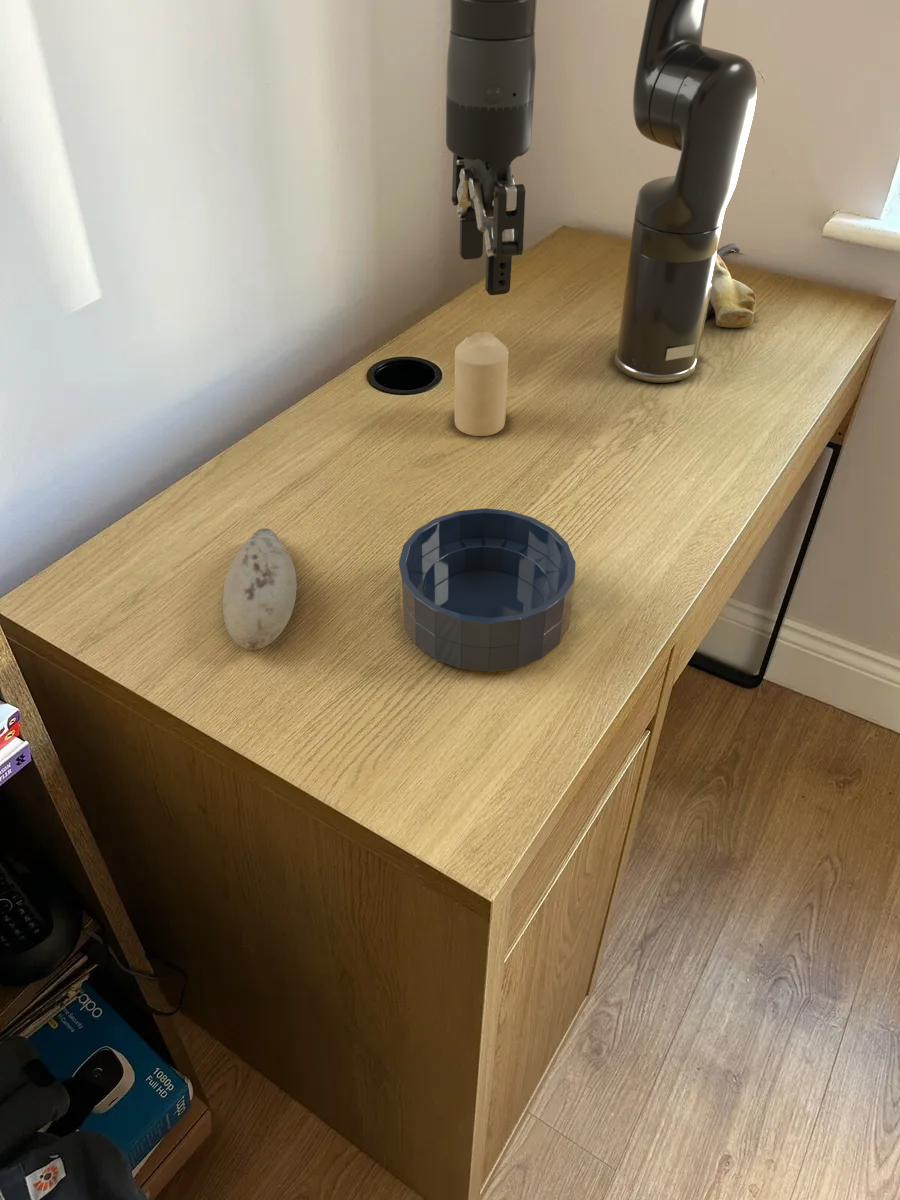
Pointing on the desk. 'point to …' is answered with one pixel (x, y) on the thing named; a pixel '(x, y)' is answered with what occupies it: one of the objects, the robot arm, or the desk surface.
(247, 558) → the decorative stone
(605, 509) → the desk surface
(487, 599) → the bowl
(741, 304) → the figurine
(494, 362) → the candle
